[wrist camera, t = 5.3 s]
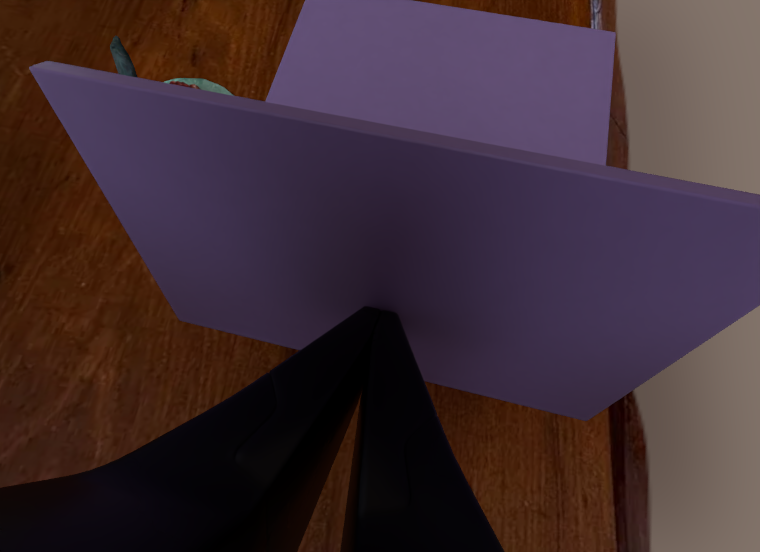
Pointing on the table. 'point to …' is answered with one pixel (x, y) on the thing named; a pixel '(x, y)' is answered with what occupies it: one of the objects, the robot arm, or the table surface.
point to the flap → (414, 238)
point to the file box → (453, 74)
